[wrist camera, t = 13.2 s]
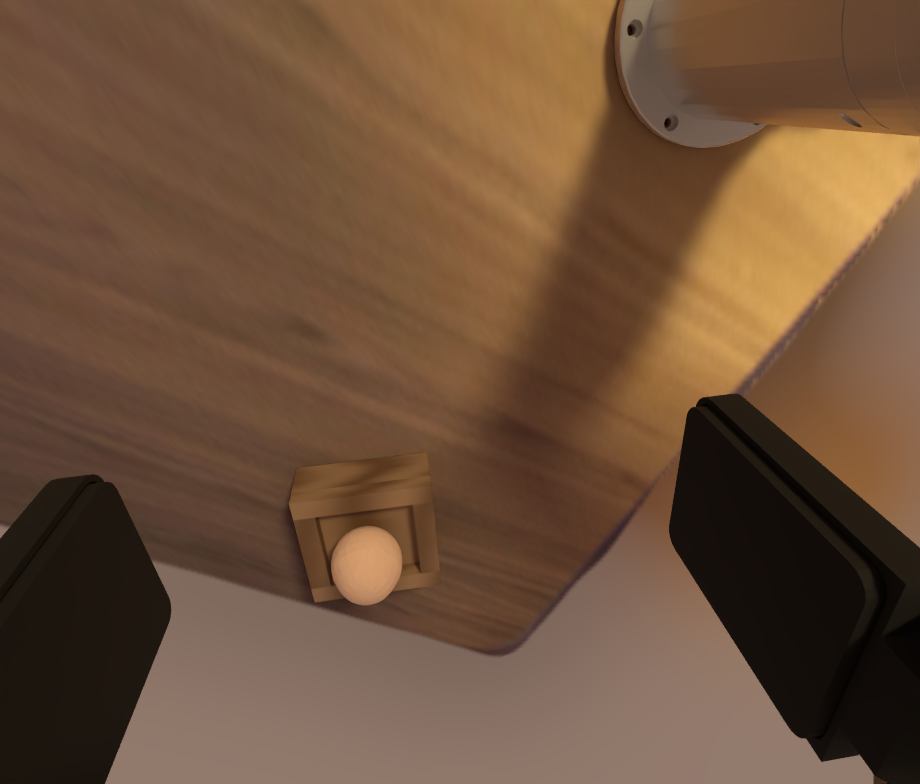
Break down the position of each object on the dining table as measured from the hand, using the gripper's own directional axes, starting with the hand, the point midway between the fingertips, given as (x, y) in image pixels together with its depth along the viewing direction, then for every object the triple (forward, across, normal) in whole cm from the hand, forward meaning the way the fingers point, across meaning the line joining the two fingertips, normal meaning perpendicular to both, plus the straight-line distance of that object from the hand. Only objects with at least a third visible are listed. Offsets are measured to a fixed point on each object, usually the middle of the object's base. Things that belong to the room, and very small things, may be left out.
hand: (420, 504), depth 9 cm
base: (+28, +5, +24) cm, 37 cm away
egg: (+25, +5, +24) cm, 35 cm away
